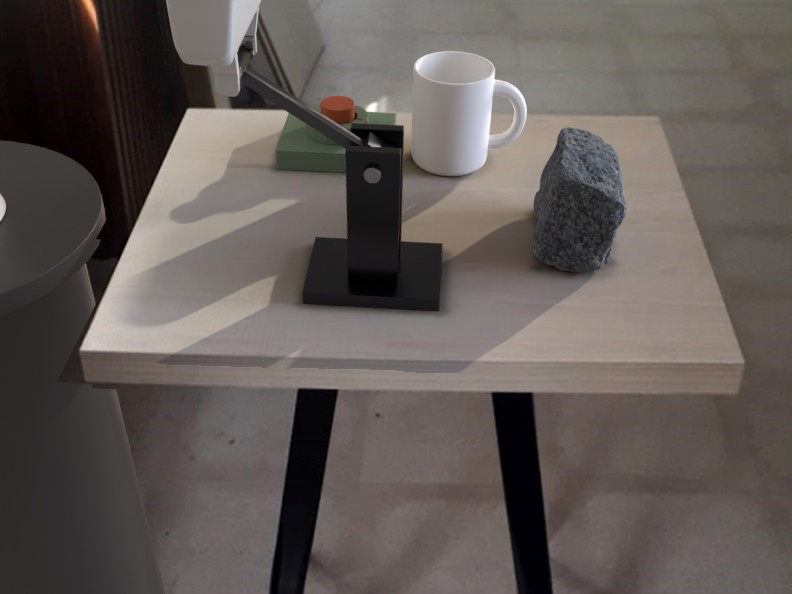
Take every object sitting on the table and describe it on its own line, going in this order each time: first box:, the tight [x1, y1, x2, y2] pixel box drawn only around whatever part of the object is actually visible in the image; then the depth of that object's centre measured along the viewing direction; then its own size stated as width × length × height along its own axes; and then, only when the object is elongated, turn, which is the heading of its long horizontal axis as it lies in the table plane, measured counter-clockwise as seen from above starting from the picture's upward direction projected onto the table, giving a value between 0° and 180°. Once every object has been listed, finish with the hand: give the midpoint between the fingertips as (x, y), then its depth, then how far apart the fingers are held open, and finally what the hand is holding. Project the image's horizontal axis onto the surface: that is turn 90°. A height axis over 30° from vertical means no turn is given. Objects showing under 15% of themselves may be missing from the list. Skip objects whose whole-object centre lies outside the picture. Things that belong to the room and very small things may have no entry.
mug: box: [410, 50, 528, 177], centre depth 100 cm, size 12×8×10 cm
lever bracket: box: [301, 123, 444, 312], centre depth 82 cm, size 12×9×14 cm
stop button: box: [319, 95, 355, 125], centre depth 102 cm, size 4×4×2 cm
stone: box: [532, 126, 628, 273], centre depth 89 cm, size 12×8×10 cm, turn 0°
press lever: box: [237, 47, 394, 149], centre depth 77 cm, size 15×5×2 cm
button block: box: [275, 104, 397, 173], centre depth 104 cm, size 12×10×4 cm
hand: (237, 75), depth 75 cm, fingers closed on press lever, 5 cm apart
